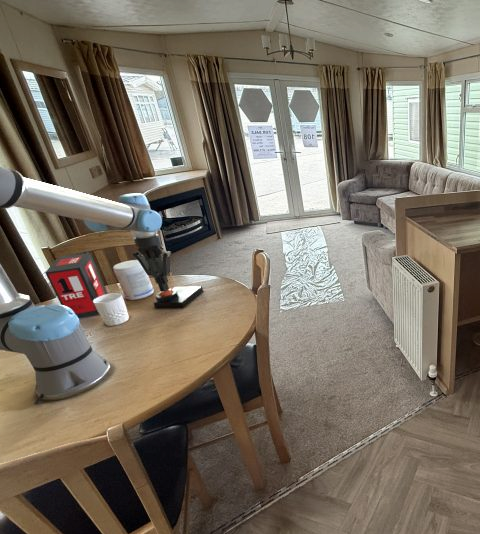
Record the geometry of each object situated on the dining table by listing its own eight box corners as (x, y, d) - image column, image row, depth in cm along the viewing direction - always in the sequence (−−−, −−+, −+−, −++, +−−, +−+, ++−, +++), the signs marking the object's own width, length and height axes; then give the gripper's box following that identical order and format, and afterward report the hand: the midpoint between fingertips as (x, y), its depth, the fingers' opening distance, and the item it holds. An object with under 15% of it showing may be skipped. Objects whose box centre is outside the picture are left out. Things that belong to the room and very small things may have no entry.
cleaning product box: (100, 314, 131) (79, 267, 123) (69, 320, 127) (45, 272, 118) (108, 296, 144) (90, 252, 135) (80, 301, 139) (59, 256, 131)
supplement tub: (158, 289, 150) (147, 258, 144) (147, 299, 142) (135, 267, 136) (133, 291, 148) (121, 260, 142) (120, 301, 140) (106, 269, 134)
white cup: (136, 316, 130) (127, 293, 126) (117, 327, 123) (106, 304, 119) (118, 314, 131) (108, 292, 127) (97, 326, 124) (86, 302, 120)
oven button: (168, 297, 136) (167, 293, 136) (158, 297, 136) (156, 293, 135) (175, 292, 140) (173, 288, 139) (164, 292, 140) (163, 288, 139)
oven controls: (183, 308, 137) (180, 298, 135) (154, 308, 136) (150, 298, 134) (203, 291, 149) (200, 282, 147) (176, 291, 149) (173, 282, 147)
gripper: (170, 232, 131) (187, 285, 141) (135, 232, 130) (154, 286, 140) (157, 238, 124) (175, 294, 134) (119, 238, 124) (141, 294, 133)
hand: (164, 290), depth 137 cm, fingers closed
